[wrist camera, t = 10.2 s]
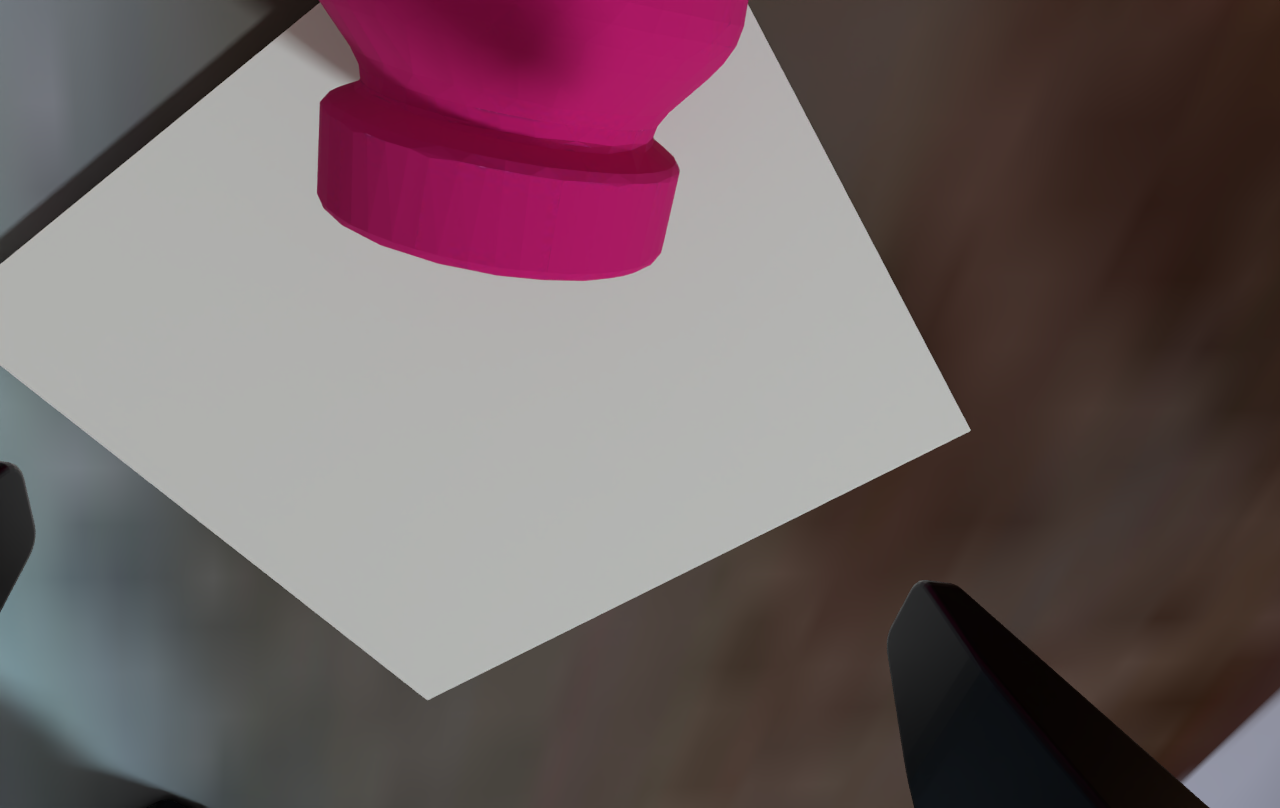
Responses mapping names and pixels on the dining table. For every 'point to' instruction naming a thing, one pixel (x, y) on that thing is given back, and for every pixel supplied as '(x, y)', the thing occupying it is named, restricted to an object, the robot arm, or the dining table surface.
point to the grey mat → (472, 368)
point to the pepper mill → (515, 128)
